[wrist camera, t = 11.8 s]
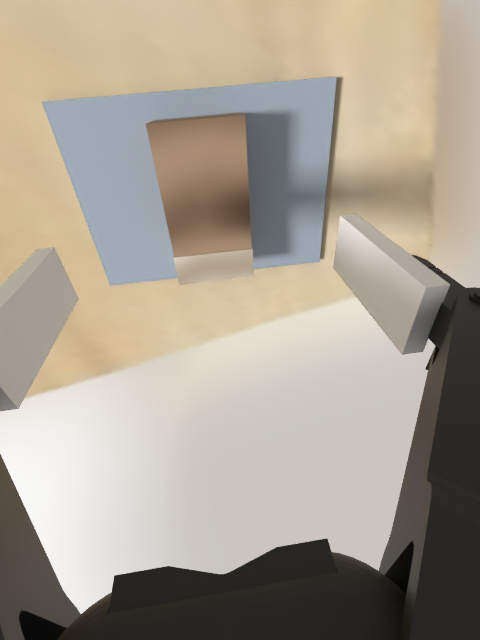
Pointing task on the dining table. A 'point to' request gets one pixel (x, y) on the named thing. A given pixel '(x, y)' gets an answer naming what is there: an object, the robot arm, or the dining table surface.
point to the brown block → (205, 194)
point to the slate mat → (142, 185)
